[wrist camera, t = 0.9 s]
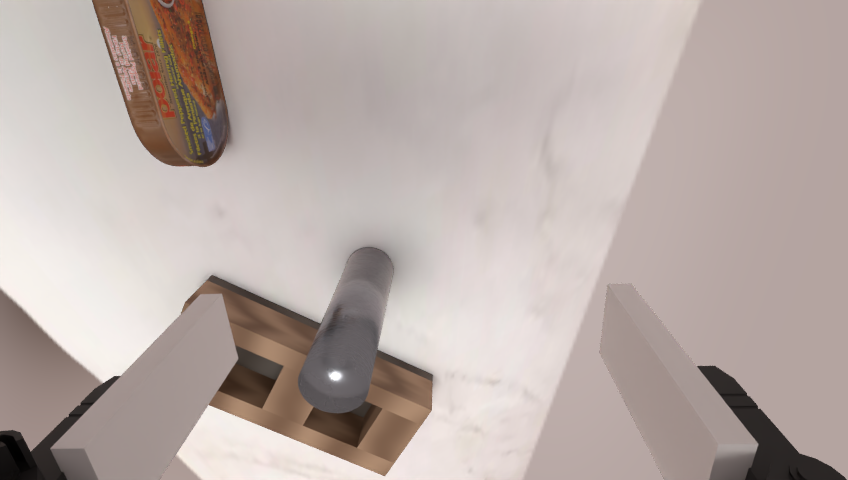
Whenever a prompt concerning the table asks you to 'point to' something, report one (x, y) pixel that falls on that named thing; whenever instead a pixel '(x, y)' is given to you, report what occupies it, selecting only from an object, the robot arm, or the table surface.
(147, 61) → the tin
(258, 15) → the table surface
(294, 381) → the bore block
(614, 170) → the table surface
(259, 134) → the table surface
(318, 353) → the pin
